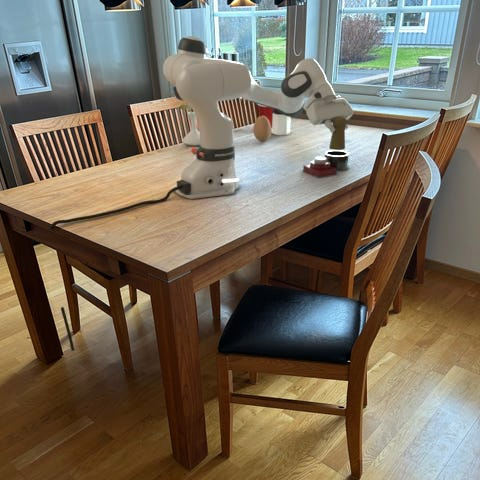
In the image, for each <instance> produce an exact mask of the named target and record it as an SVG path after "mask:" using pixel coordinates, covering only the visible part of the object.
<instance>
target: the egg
mask: <svg viewBox="0 0 480 480" xmlns="http://www.w3.org/2000/svg"><path fill="white" fill-rule="evenodd" d="M252 130H253V136H254V137H255V139H256V140H257V141H259V142H266V141H267V140H268V139H269V138H270V137H271V134H272V128H271V125H270V122H269V120H268V119H267V118H266V117H265V116H260V115H259V116H258V117H257V119H256V120H255V121H254V123H253V129H252Z"/></svg>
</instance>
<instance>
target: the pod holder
mask: <svg viewBox="0 0 480 480" xmlns="http://www.w3.org/2000/svg"><path fill="white" fill-rule="evenodd" d="M349 155H350V153H349V152H347V151H344V150H328V151H325V152H324V157H325V158H326V160H327V161H330V166H331V167H334V168H337V169H336V172H341V171H345V170H347V169H348V164H349Z"/></svg>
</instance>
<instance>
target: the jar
mask: <svg viewBox="0 0 480 480" xmlns="http://www.w3.org/2000/svg"><path fill="white" fill-rule="evenodd" d="M273 111H274V113H273V120H272V128H271V134H273V135H276V136H287V135H289V134H291V119H292V117H288V116H285V115H283V114H282V113H281V112H279V111H277V110H275V109H274V110H273Z"/></svg>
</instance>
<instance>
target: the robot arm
mask: <svg viewBox="0 0 480 480" xmlns="http://www.w3.org/2000/svg"><path fill="white" fill-rule="evenodd" d="M207 55H209V56H210V55H212V53H211V52H210V51H209V48H208V46H207V44H206V42H205V41H203V40H202V39H200V38H199V37H197V36H194V35H190V36H189V35H188V36H185V37H181V38H180V40H179V42H178V45H177V53H175V54H171V55H169V56H168V57H166V59H165V61H164V62H163V66H162V73H163V76H164V78H165V79H166V80H167V82H168V83H170V84H171V85H172V86H173V87H172V90H173V95H174V97H175V98H176V99H177V100H178V101H180V102H182V103H185V104H186V103H187V105H188V107H189V108H190V109H191V108H192V112H194V113H195V115H196V117H197V118H196V121H197V123H198V124H197V125H198V132H200V143H201V145H199V147H198V148H196V147H195V146H192V147H191V148H190V150H189V151H190V153H191V154H193V155H195V157H196V158H194V160H193V161H192V162H191V163H190V164H189V165H188V166H187V167H186V168H185V169H183V170H182V172H181V174H180V180H176V185H175V186H174V187H173V188H172V189H171V188H170V190H169V191H167V193H166V195H165V196H164V197H162V198H159V199H153V200H151V199H150V200H144V201H140V202H136V203H133V204H131V205H127V206H124V207H120V208H118V209H117V208H116V209H113V210H109V211H104V212H100V213H95V214H90V215H83V216H78V217H73V218H67V219H59V220H55V221H53V222H52V223H51V224H50V226H49V227H48V229H49V230H52V229H54V228H55V227H56V226H57V225H59V224H69V223H73V222H80V221H85V220H90V219H96V218H101V217H106V216H110V215H113V214H117V213H121V212H124V211H128V210H132V209H135V208H137V207H140V206H144V205H150V204H158V203H162V202H164V201H167V200H168V199H169V197H170V196H171V194H172V193H174V192H175V193H176V194H177V195H179V196H181V197H182V198H186V199H190V200H195V199H202V198H211V197H221V196H228V195H233V194H234V193H235V191H236V190H237V189H239V187H240V186H239V181H240V178H237V174H236V168H235V167H236V166H235V159H236V152H235V151H236V149H235V144H234V124H233V121H232V119H231V118H230V117H229V116H228V115H227V114H225V113H224V112H221V111H220V107H219V102H224V101H232V100H236V99H239V98H242V99H243V100H246V101H248V102H251V103H254V104H256V105H257V104H260V105H263V106H266V107H269V108H273V109H275V110H277V111H279V112H281V113H282V114H283V115H285V116H288V117H291V118H294V117H297V116H299V115H300V114H302V112H303V111H305V114H306V116H307V118H308V120H309V122H310V124H312V125H313V126H319V125H324V126H325V127H326V128H327V129H328V130H329V131H330V133H331V134H332V133H333V132H335V131H336V130H337V129H336V127H335V126H333V119H334V118H336V117H343V118H345V119H346V120H347V121H348V120H349V119H350V118H352V117H353V115H354V112H355V111H354V109H353V107H352V106H351V104H350V103H349V101H348V100H347V99H345V98H344V97H342V96H340V95H338V96H337V95H336V93H335V91H334V89H333V87H332V85H331V84H330V83H329V81H328V80H327V76H326V74H325V72H324V70H323V68H322V67H321V66H320V63H318V61H317V60H316V59H314V58H311V57H307V58H304V59H302V60H300V61H299V62H298V63H297V65H296V67H295V68H294V70H293V71H292V72H291V73H290V74H288V75H286V76H285V77H284V78H283V80H281V85H280V91H279V92H278V91H275V90H272V89H269V88H266V87H262V86H261V85H260V84H258V83H257V82H256V80H255V79H254V78H253V76H252V74H251V70H250V68H249V67H248V66H247V65H246V64H244V63H241V62H236V61H233V60H227V59H221V58H219V59H218V58H208V56H207ZM306 98H307V100H306ZM348 129H349V126H348V124H346V126H345V131H346V130H348ZM60 311H61V315H62V318H63V322H64V326H65V330H66V333H67V337H68V341H69V346H70V350H71V352H74V351H75V346H74V342H73V337H72V333H71V329H70V325H69V322H68V319H67V313H66V312H65V311H66V310H65V308H64V306H62V307H60Z"/></svg>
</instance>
